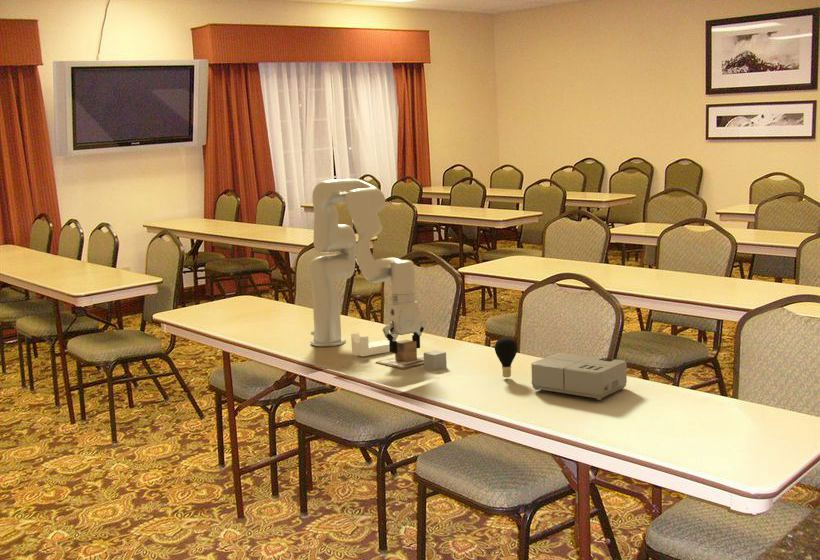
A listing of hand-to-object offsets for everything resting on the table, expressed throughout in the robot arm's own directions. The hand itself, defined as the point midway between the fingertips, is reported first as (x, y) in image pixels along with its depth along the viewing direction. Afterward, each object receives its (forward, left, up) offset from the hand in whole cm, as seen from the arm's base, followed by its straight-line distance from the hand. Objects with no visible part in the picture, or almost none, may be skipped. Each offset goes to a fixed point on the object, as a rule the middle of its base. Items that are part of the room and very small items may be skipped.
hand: (405, 350), depth 283 cm
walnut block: (0, 0, -3) cm, 3 cm away
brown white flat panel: (+1, 0, -4) cm, 4 cm away
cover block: (+12, 0, -1) cm, 12 cm away
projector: (+62, +11, -4) cm, 64 cm away
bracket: (-17, 0, -4) cm, 17 cm away
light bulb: (+39, +6, -4) cm, 40 cm away
